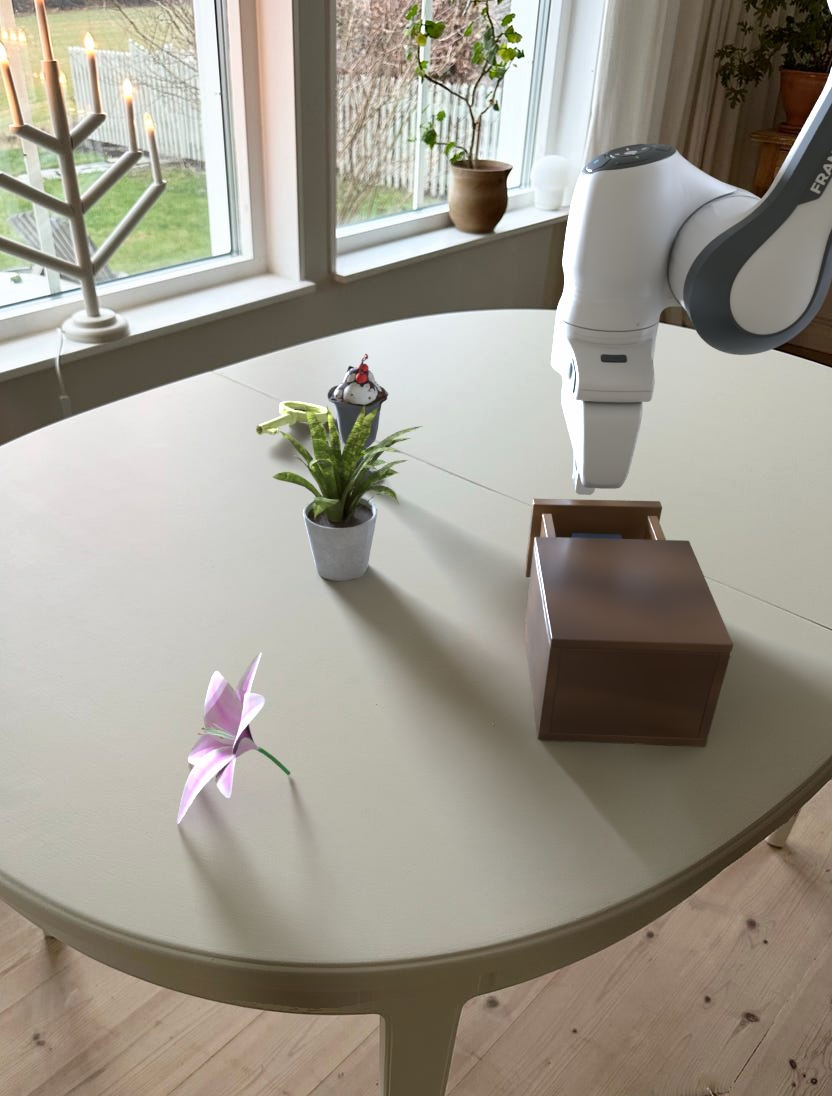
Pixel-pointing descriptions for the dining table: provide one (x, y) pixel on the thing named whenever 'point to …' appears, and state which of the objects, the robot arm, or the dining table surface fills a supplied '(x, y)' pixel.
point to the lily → (224, 735)
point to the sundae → (357, 402)
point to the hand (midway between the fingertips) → (582, 488)
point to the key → (291, 416)
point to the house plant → (342, 494)
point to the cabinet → (623, 642)
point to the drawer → (593, 520)
